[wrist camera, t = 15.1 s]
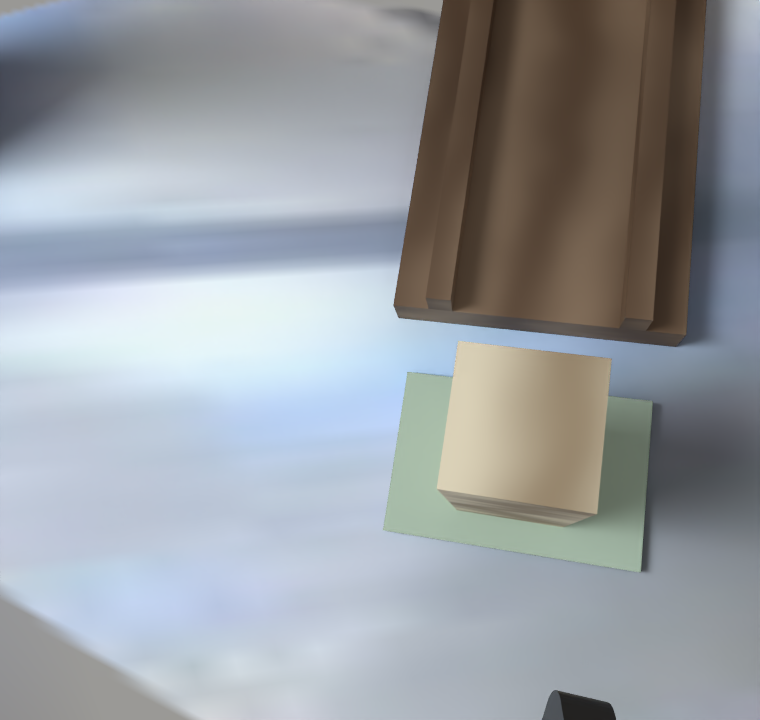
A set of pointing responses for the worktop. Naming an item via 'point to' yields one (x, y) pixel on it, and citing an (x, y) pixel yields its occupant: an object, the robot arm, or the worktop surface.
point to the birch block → (525, 434)
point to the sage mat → (572, 543)
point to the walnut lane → (558, 169)
